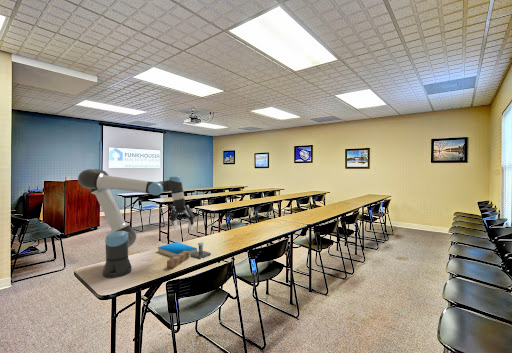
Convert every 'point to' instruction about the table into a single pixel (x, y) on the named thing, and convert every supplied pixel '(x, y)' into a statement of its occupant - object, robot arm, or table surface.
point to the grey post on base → (200, 252)
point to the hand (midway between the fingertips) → (184, 229)
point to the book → (176, 249)
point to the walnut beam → (177, 259)
